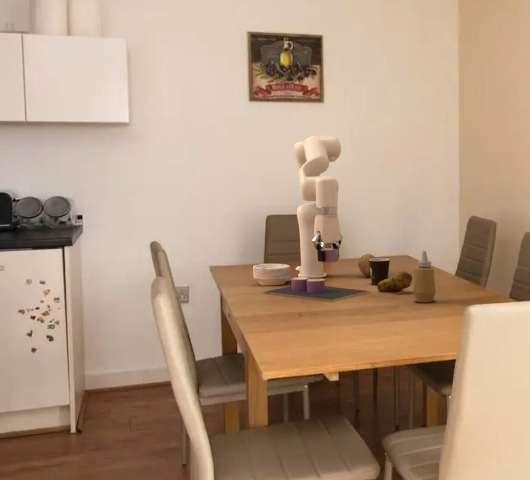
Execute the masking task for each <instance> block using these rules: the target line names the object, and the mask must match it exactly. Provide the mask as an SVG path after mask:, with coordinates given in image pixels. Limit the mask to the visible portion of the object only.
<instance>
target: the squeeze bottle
mask: <svg viewBox="0 0 530 480" xmlns="http://www.w3.org/2000/svg"><path fill="white" fill-rule="evenodd" d="M436 292H437V289H436V281H435V269H434V268H433V267H432V261H431V260H429V259H428V254H427V251H426V250H423V251H422V253H421V257H420V260H418V261H417V267H416V268H415V270H414V282H413V294H414V298H415V301H416V302H418V303H423V304H425V303H432V302H434V298H435V295H436Z"/></svg>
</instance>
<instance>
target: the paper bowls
mask: <svg viewBox="0 0 530 480" xmlns="http://www.w3.org/2000/svg"><path fill="white" fill-rule="evenodd" d="M252 277H253V279H255V280H257V282H258V283H259V285H260V286H279V285H285V283H286V282H287V279H290V278H291V265H289V264H285V263H261V264H255V265H253V266H252Z"/></svg>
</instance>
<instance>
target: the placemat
mask: <svg viewBox="0 0 530 480" xmlns="http://www.w3.org/2000/svg"><path fill="white" fill-rule="evenodd" d="M325 290H326V291H325V292H321V293H309V292H307V291H293V290H292V285H290V286H286V287H281V288H276V289H271V290H266V291H264V293H272V294H278V295H279V294H280V295H288V296H297V297H303V298H305V297H306V298H314V299H322V300H330V301H333V300H338V299H342V298H345V297H349V296H350V297H351V296H354V295H358V294H363V293H366V292H368V290H363V289H355V288H346V287H345V288H344V287H334V286H327V285H325Z"/></svg>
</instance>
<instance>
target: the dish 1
mask: <svg viewBox="0 0 530 480" xmlns="http://www.w3.org/2000/svg"><path fill="white" fill-rule="evenodd" d="M308 279H311V278H308V277H298V276H296V277H292V278H291V279H290V280H291V282H290V283H291V286H292V290H293V291H307V285H306V280H308Z"/></svg>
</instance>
